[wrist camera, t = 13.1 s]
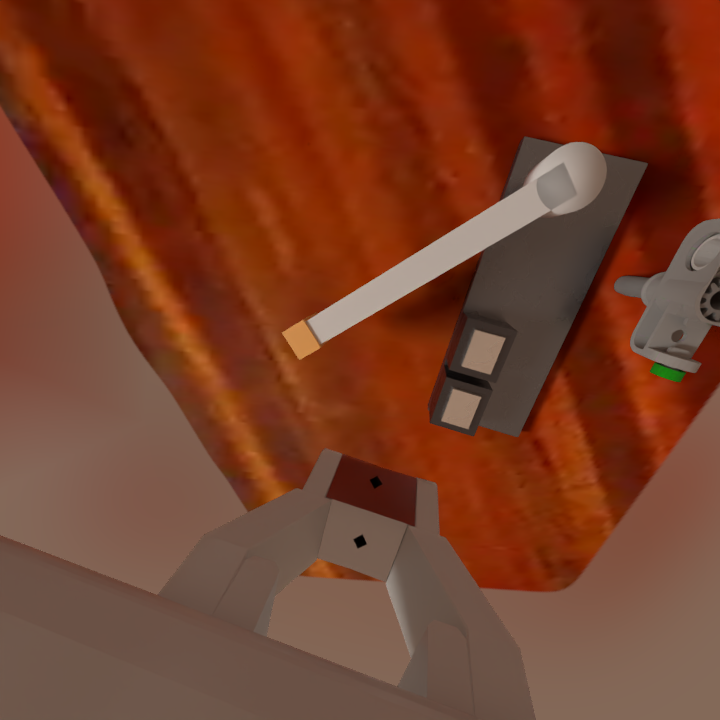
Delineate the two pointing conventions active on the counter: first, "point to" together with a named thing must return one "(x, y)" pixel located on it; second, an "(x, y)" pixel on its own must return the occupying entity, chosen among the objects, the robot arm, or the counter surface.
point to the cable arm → (465, 241)
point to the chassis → (542, 281)
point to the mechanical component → (678, 303)
